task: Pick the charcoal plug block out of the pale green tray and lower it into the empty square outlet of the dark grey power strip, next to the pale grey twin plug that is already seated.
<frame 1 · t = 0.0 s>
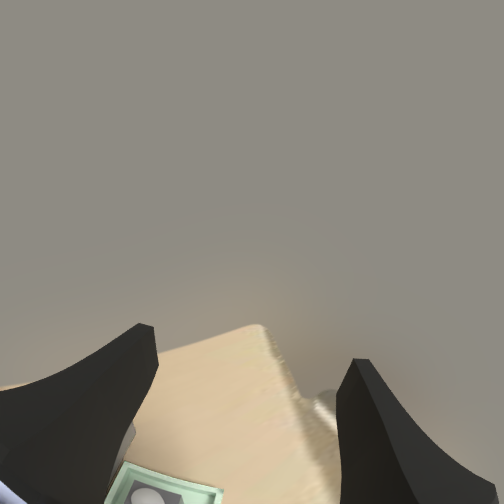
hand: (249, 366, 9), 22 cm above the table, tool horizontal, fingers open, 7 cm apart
power strip: (77, 476, 16), on the table
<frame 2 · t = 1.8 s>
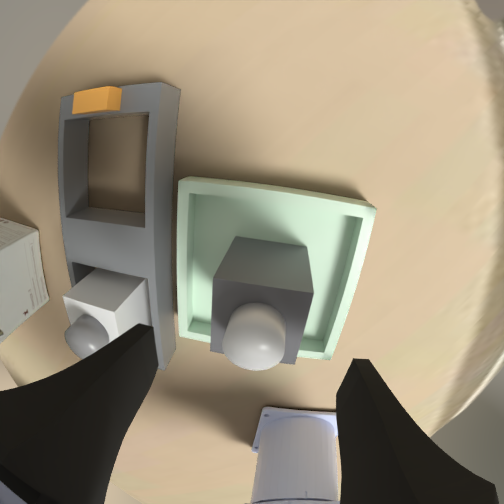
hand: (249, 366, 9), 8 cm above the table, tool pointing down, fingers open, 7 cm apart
twin plug: (129, 291, 19), resting in power strip
tray: (267, 269, 17), on the table
plug: (266, 273, 16), resting on tray
power strip: (124, 232, 17), on the table
supplement box: (24, 256, 20), on the table
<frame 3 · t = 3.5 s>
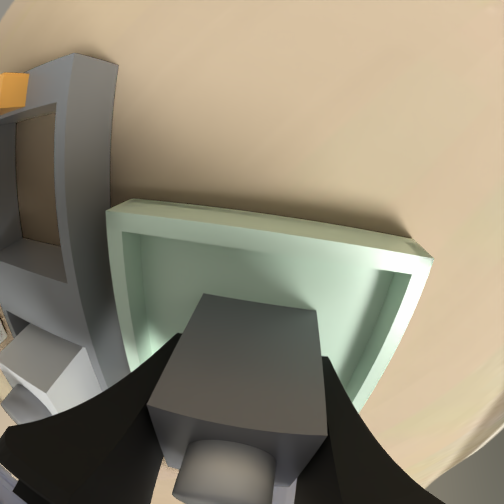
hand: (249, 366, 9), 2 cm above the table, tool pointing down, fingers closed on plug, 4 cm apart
twin plug: (81, 343, 13), resting in power strip
tray: (254, 336, 11), on the table
plug: (253, 344, 10), resting on tray, touching gripper
power strip: (62, 274, 11), on the table
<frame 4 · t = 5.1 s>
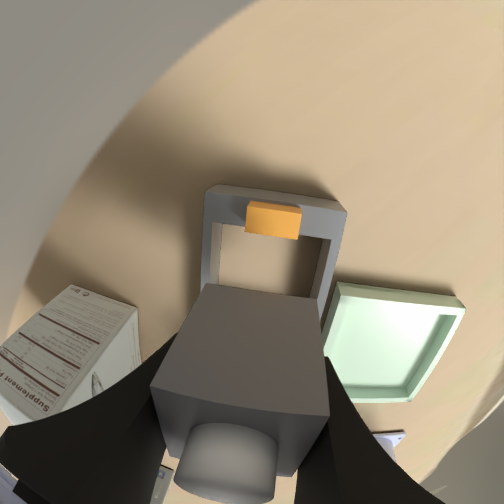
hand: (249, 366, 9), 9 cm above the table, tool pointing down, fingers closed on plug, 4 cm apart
tray: (380, 346, 19), on the table
plug: (254, 334, 11), point 7 cm above the table, touching gripper
power strip: (259, 322, 19), on the table
supplement box: (107, 325, 22), on the table
hard drive box: (147, 469, 37), on the table
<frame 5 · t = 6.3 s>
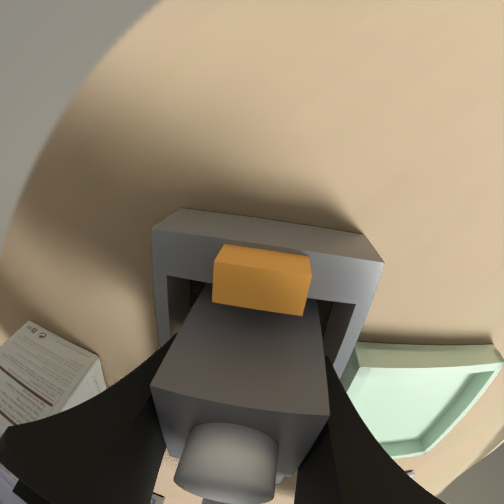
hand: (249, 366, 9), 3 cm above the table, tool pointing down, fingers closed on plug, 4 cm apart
tray: (399, 404, 13), on the table
plug: (255, 334, 11), point 1 cm above the table, touching gripper
power strip: (247, 385, 14), on the table
supplement box: (73, 367, 16), on the table
hard drive box: (138, 492, 31), on the table
when the fingers open (3 cm above the table, at t = 6.9 s): plug drops 1 cm, resting in power strip.
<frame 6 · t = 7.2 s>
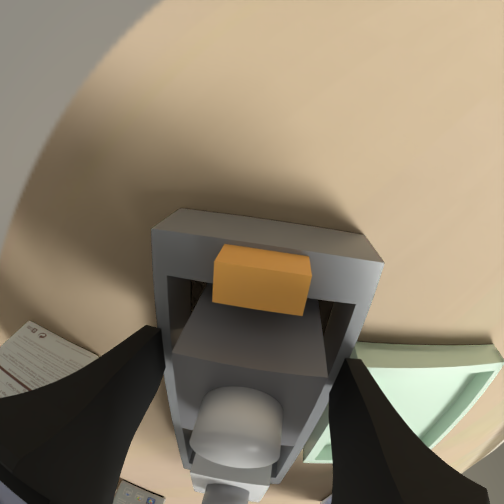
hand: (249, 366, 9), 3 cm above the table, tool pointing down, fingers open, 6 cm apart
twin plug: (241, 424, 15), resting in power strip
tray: (399, 404, 13), on the table
plug: (259, 316, 12), resting in power strip
power strip: (247, 385, 14), on the table
supplement box: (73, 367, 16), on the table
hard drive box: (138, 492, 31), on the table
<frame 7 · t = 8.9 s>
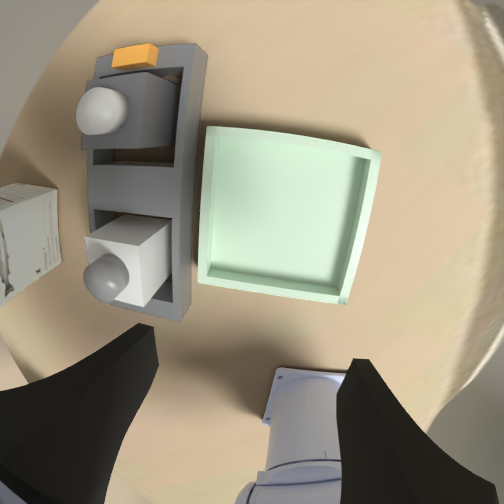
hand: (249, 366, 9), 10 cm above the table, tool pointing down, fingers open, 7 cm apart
twin plug: (148, 242, 20), resting in power strip
tray: (284, 213, 18), on the table
plug: (152, 115, 16), resting in power strip
power strip: (147, 183, 18), on the table
supplement box: (38, 219, 21), on the table
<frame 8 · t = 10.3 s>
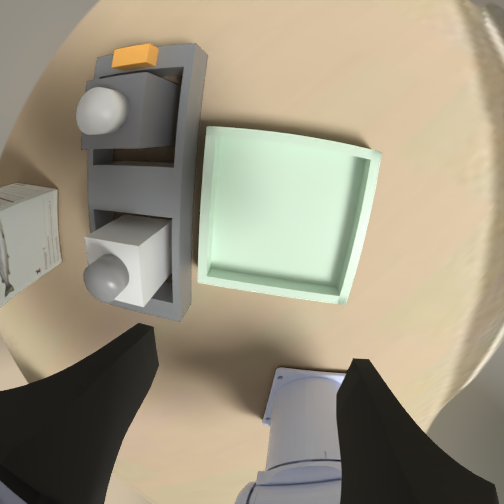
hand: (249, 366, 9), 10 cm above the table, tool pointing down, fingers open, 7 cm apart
twin plug: (148, 243, 20), resting in power strip
tray: (284, 213, 18), on the table
plug: (152, 116, 16), resting in power strip
power strip: (147, 183, 18), on the table
supplement box: (39, 219, 21), on the table
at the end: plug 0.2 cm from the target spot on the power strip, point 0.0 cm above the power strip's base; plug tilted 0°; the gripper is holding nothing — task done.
